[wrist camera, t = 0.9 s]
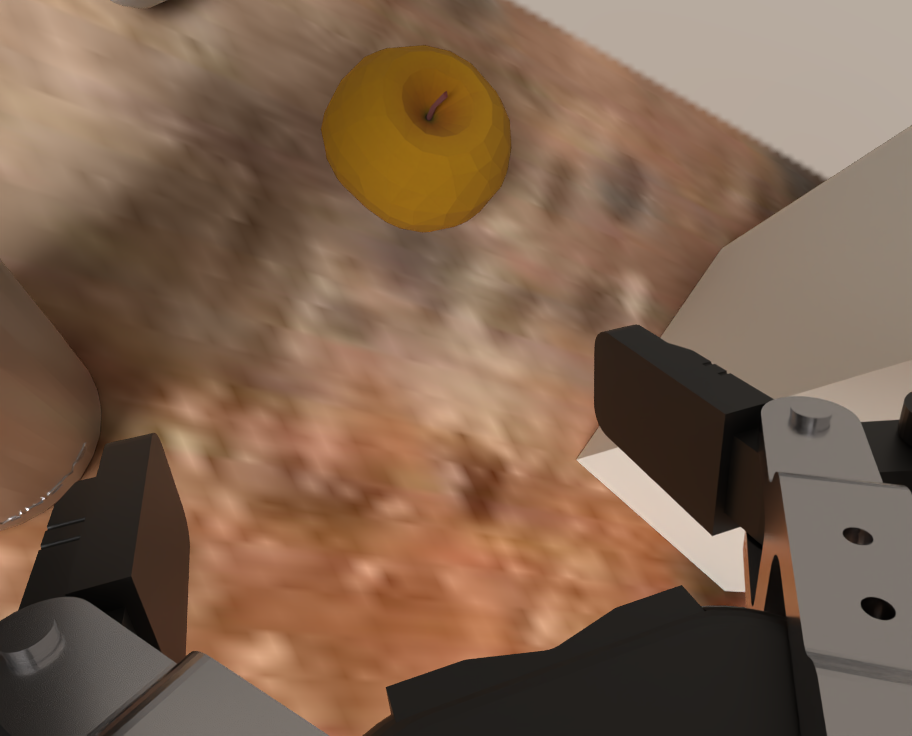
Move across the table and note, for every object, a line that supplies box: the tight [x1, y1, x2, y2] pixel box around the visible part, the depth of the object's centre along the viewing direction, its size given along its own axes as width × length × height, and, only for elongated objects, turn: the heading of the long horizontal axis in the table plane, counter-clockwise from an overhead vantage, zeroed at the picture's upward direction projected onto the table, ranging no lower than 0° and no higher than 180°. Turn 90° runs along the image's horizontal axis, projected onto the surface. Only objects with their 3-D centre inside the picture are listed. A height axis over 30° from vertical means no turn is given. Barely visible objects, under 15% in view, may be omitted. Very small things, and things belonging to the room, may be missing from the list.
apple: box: [321, 45, 511, 232], centre depth 33 cm, size 9×9×9 cm
